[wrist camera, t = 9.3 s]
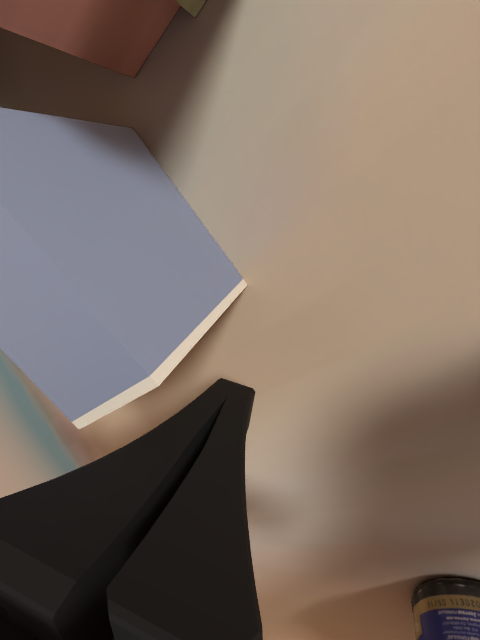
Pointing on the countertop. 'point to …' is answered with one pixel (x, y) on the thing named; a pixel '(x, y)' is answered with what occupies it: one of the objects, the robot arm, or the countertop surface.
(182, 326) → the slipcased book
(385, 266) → the countertop surface
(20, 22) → the shelf
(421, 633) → the pill bottle
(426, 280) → the countertop surface
